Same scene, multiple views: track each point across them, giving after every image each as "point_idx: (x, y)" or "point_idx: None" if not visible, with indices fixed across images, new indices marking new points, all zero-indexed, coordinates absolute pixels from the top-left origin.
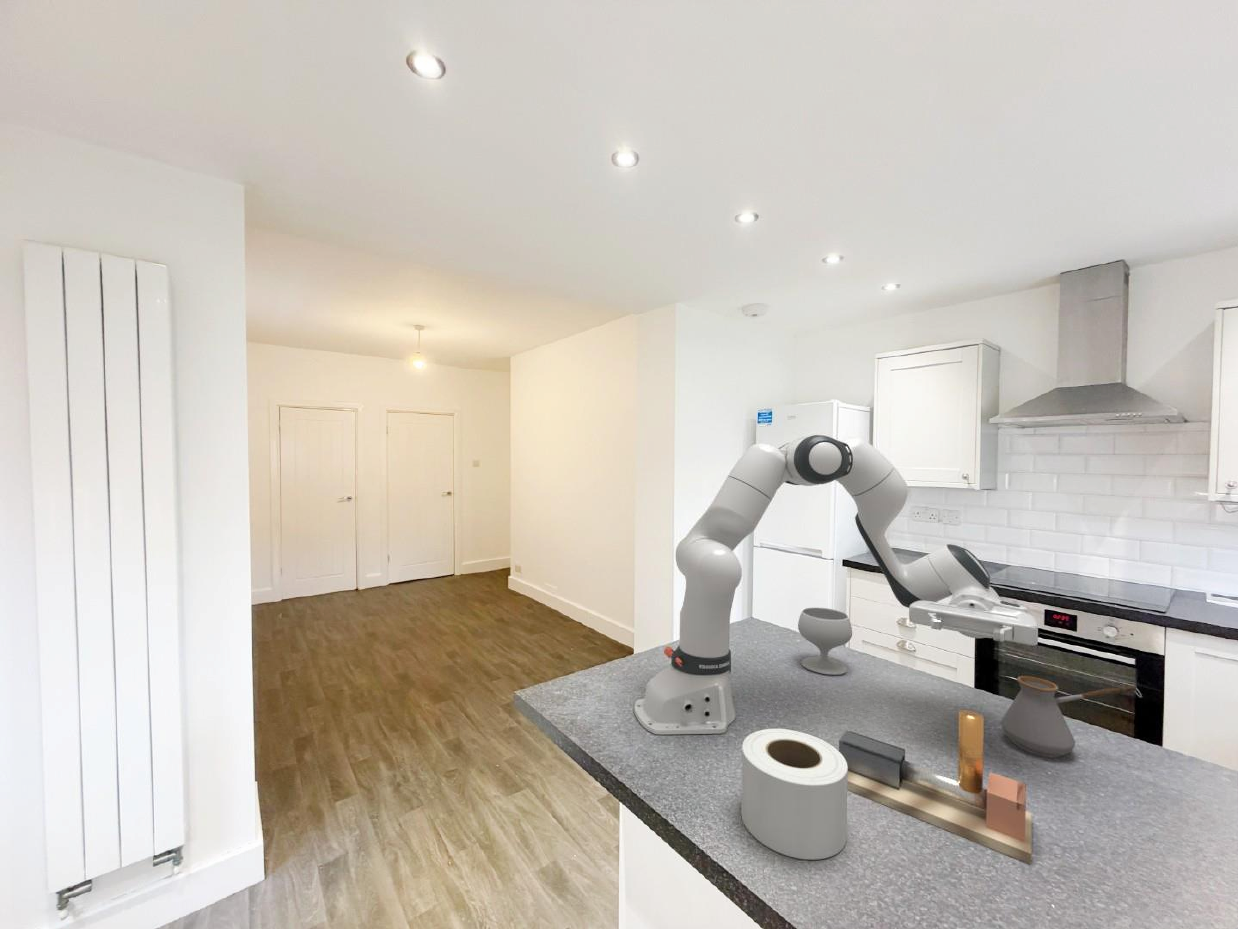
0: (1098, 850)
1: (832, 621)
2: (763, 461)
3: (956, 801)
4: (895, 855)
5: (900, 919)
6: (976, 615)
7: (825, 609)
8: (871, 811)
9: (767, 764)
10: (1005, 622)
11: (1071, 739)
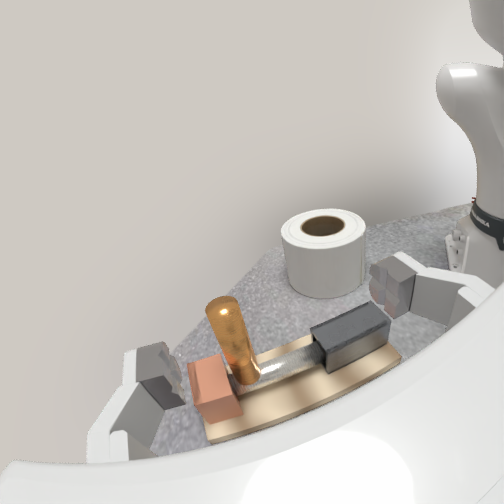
0: (157, 450)
1: None
2: None
3: (268, 388)
4: (268, 307)
5: (239, 281)
6: (306, 442)
7: None
8: (311, 324)
9: (316, 212)
10: (104, 464)
11: None
